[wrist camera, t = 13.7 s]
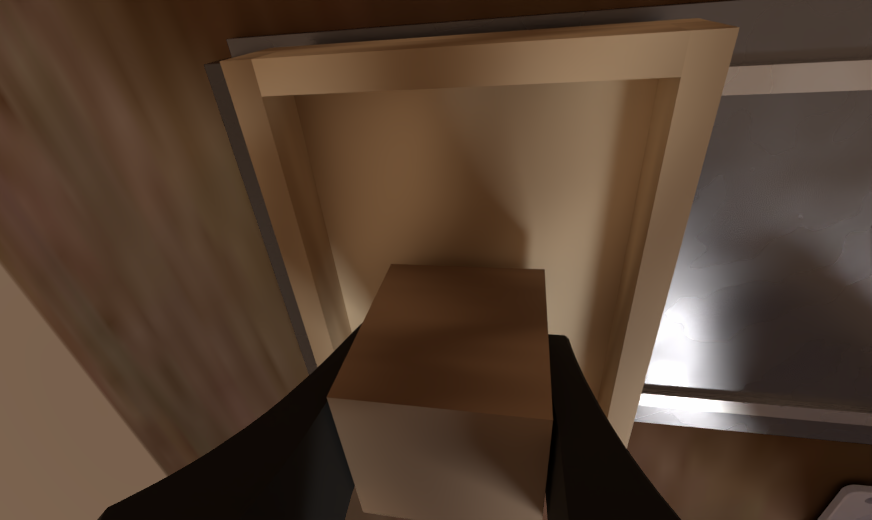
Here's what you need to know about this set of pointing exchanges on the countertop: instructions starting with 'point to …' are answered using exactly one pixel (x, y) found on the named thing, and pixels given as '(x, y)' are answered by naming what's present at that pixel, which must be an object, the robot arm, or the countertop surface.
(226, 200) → the countertop surface
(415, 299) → the part block
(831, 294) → the rail base
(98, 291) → the countertop surface
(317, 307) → the shallow wooden tray
